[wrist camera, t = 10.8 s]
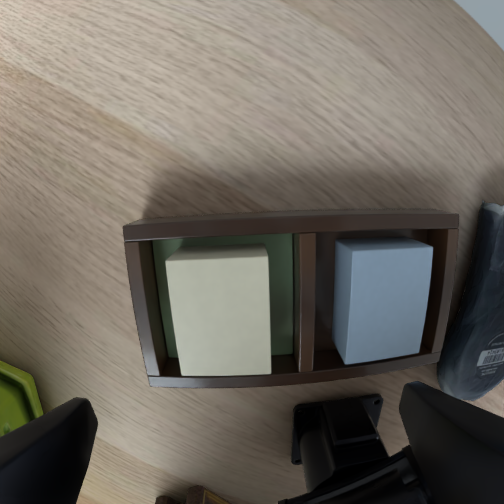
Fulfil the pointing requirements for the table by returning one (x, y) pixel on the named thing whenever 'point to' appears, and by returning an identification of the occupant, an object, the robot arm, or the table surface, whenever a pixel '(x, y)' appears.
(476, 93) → the table surface
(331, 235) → the shallow rectangular tray
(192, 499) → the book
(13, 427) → the flower pot
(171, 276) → the cream rectangular block
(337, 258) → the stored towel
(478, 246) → the electronic device
